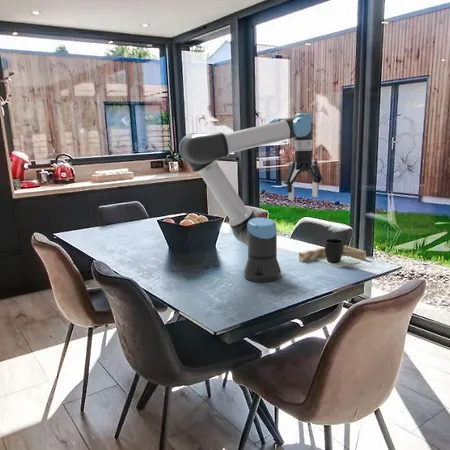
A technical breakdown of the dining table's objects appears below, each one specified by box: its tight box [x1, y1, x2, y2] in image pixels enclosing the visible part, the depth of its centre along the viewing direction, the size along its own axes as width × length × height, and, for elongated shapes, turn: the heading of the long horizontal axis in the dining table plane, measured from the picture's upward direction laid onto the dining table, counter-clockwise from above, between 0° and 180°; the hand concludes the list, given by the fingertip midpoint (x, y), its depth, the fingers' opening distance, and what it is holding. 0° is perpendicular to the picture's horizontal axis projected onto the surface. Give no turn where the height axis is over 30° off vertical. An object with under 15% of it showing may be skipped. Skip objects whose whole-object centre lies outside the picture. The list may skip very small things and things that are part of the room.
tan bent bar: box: [298, 244, 367, 263], centre depth 196 cm, size 26×16×4 cm, turn 120°
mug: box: [324, 238, 346, 263], centre depth 194 cm, size 8×12×10 cm
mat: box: [314, 255, 361, 268], centre depth 195 cm, size 13×15×1 cm
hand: (303, 198), depth 192 cm, fingers open, 13 cm apart
